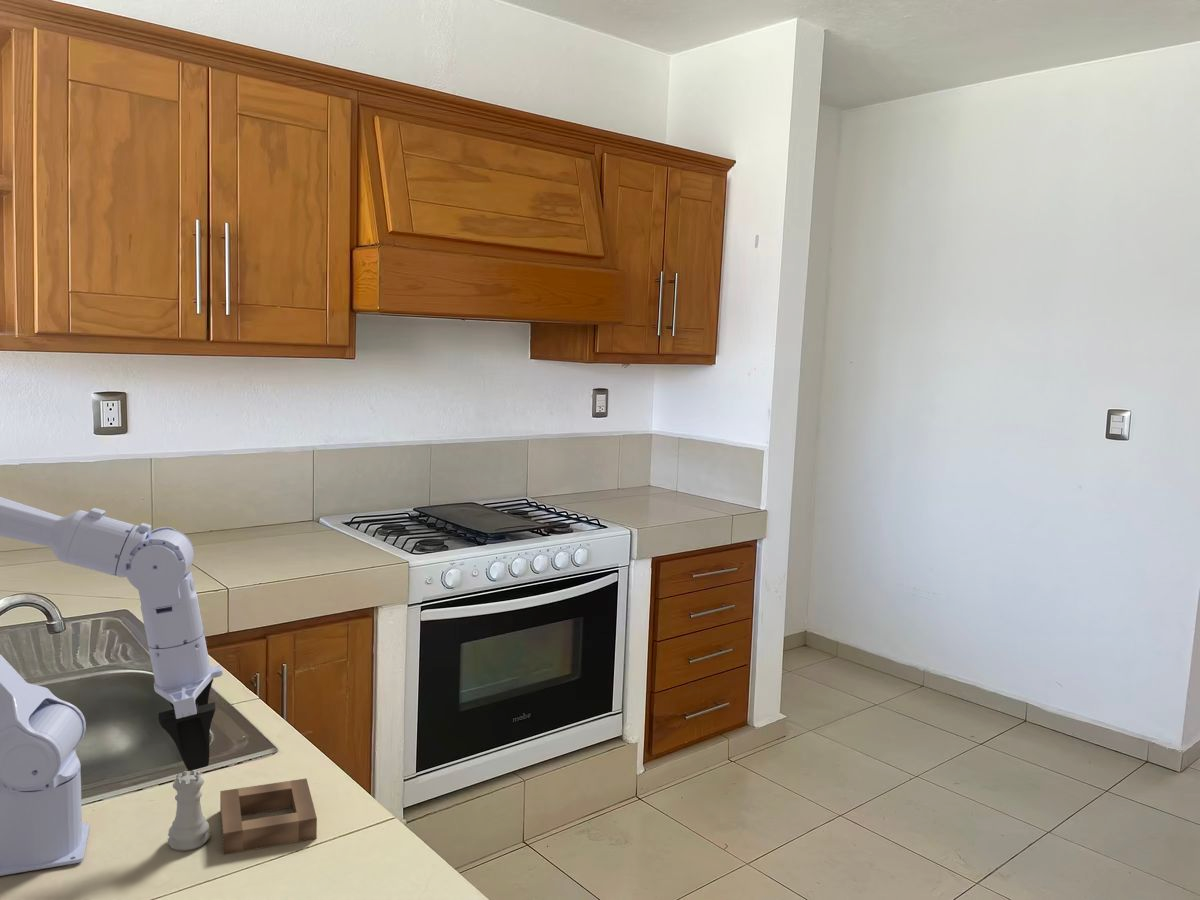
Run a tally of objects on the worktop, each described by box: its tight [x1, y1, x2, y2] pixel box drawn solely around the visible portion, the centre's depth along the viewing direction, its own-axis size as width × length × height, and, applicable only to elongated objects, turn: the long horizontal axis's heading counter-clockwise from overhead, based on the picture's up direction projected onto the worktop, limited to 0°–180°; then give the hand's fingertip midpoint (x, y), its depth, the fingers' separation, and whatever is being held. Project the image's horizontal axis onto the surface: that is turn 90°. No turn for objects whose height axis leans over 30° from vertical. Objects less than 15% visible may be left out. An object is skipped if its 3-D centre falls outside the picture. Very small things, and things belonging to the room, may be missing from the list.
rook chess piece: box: [167, 769, 211, 852], centre depth 105 cm, size 4×4×8 cm
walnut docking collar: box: [219, 778, 318, 855], centre depth 109 cm, size 10×10×2 cm
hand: (197, 753), depth 104 cm, fingers open, 7 cm apart
